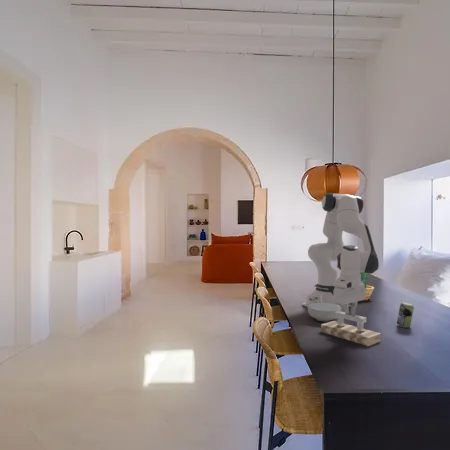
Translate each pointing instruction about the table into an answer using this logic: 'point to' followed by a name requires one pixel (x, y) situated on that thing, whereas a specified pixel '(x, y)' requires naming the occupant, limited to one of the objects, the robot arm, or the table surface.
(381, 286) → the table surface
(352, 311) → the gray u-shaped bracket
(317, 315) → the cereal bowl
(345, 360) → the table surface
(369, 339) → the beige flat rectangular block
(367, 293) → the potted cactus
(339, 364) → the table surface
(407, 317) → the beverage can
